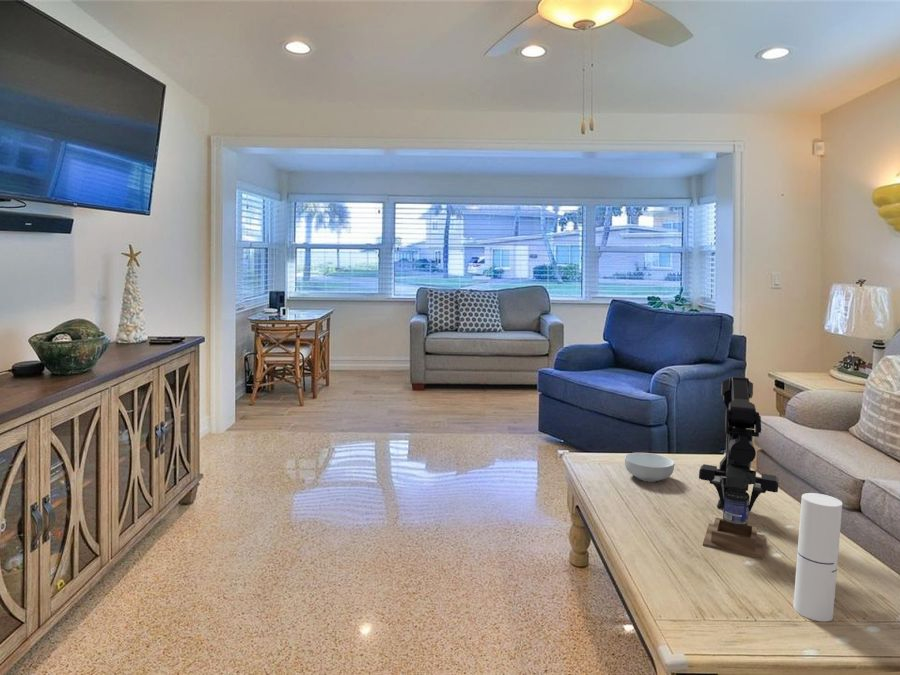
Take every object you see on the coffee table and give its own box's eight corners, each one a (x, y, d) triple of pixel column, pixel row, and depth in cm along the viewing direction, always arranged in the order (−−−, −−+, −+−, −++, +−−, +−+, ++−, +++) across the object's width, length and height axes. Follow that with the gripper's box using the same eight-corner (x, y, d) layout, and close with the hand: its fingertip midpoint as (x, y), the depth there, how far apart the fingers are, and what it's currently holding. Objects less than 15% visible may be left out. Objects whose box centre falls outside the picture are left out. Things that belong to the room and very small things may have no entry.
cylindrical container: (785, 602, 122) (793, 493, 120) (816, 601, 123) (824, 492, 120) (809, 622, 115) (818, 506, 113) (841, 620, 116) (851, 505, 113)
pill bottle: (751, 528, 147) (753, 488, 146) (726, 526, 148) (728, 486, 147) (743, 518, 153) (746, 480, 152) (719, 516, 154) (722, 478, 153)
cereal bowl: (681, 487, 190) (682, 467, 189) (632, 486, 190) (633, 466, 190) (663, 470, 207) (663, 451, 206) (618, 469, 207) (619, 451, 206)
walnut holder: (708, 525, 160) (709, 513, 160) (764, 537, 153) (765, 524, 153) (702, 545, 148) (703, 532, 148) (762, 559, 141) (763, 545, 141)
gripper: (697, 454, 146) (694, 511, 148) (779, 467, 137) (775, 527, 138) (702, 443, 156) (700, 497, 157) (780, 455, 146) (776, 511, 148)
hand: (736, 508), depth 150 cm, fingers closed on pill bottle, 6 cm apart
